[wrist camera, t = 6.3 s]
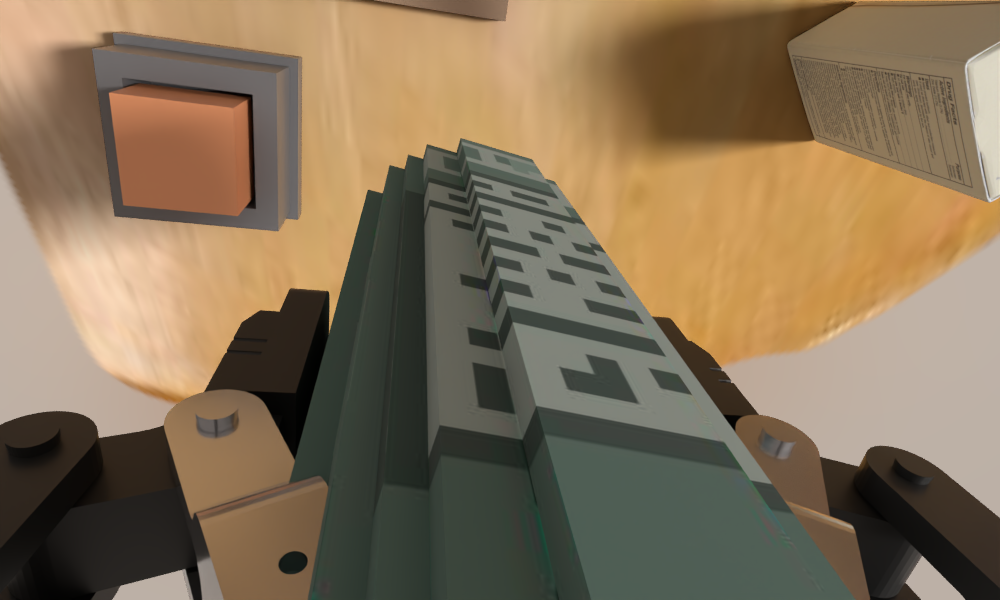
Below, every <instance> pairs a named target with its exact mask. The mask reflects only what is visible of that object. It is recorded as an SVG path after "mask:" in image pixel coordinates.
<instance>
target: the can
mask: <svg viewBox="0 0 1000 600" xmlns="http://www.w3.org/2000/svg"><path fill="white" fill-rule="evenodd" d="M313 475H319V476H321V477H322V478H323V480H324V481H325V482H326V484H327V486H328V487H329V488H328V493H327V498H326V504H325V509H324V514H323V520H322V525H321V530H320V536H319V541H318V547H317V552H316V557H315V563H314V568H313V573H312V579H311V584H310V589H309V595H308V600H856V599H855V598H854V596H853V595H852V594H851V592H850V591H849V589H848V588H847V587H846V585H845V584H844V583H843V581H842V580H841V578H840V577H839V576H838V574H837V573H836V571H835V570H834V569H833V567H832V566H831V565H830V563H829V562H828V560H827V559H826V558H825V556H824V555H823V553H822V552H821V551H820V549H819V548H818V546H817V545H816V544H815V542H814V541H813V540H812V538H811V537H810V535H809V534H808V533H807V531H806V530H805V528H804V527H803V526H802V524H801V523H800V522H799V520H798V519H797V517H796V516H795V515H794V513H793V512H792V510H791V509H790V508H789V506H788V505H787V503H786V502H785V501H784V499H783V498H782V497H781V495H780V494H779V492H778V491H777V490H776V488H775V487H774V485H773V484H772V483H771V481H770V480H769V479H768V477H767V476H766V474H765V473H764V472H763V470H762V469H761V467H760V466H759V465H758V463H757V462H756V460H755V459H754V458H753V456H752V455H751V454H750V452H749V451H748V449H747V448H746V447H745V445H744V444H743V442H742V441H741V440H740V438H739V437H738V436H737V434H736V433H735V431H734V430H733V429H732V427H731V426H730V424H729V423H728V422H727V420H726V419H725V417H724V416H723V415H722V413H721V412H720V411H719V409H718V408H717V406H716V405H715V404H714V402H713V401H712V399H711V398H710V397H709V395H708V394H707V393H706V391H705V390H704V388H703V387H702V386H701V384H700V383H699V381H698V380H697V379H696V377H695V376H694V374H693V373H692V372H691V370H690V369H689V368H688V366H687V365H686V363H685V362H684V361H683V359H682V358H681V356H680V355H679V354H678V352H677V351H676V350H675V348H674V347H673V345H672V344H671V343H670V341H669V340H668V338H667V337H666V336H665V334H664V333H663V331H662V330H661V329H660V327H659V326H658V325H657V323H656V322H655V320H654V319H653V318H652V316H651V315H650V313H649V312H648V311H647V309H646V308H645V307H644V305H643V304H642V302H641V301H640V300H639V298H638V297H637V295H636V294H635V293H634V291H633V290H632V288H631V287H630V286H629V284H628V283H627V282H626V280H625V279H624V277H623V276H622V275H621V273H620V272H619V270H618V269H617V268H616V266H615V265H614V264H613V262H612V261H611V259H610V258H609V257H608V255H607V254H606V252H605V251H604V250H603V248H602V247H601V245H600V244H599V243H598V241H597V240H596V239H595V237H594V236H593V234H592V233H591V232H590V230H589V229H588V227H587V226H586V225H585V223H584V222H583V221H582V219H581V218H580V216H579V215H578V214H577V212H576V211H575V209H574V208H573V207H572V205H571V204H570V202H569V201H568V200H567V198H566V197H565V196H564V194H563V193H562V191H561V190H560V189H559V187H558V186H557V184H556V183H555V182H554V181H551V180H548V179H545V178H544V176H543V175H542V173H541V172H540V171H539V169H538V168H537V166H536V165H535V163H534V162H533V160H532V159H529V158H525V157H522V156H519V155H515V154H512V153H509V152H505V151H502V150H499V149H495V148H492V147H488V146H485V145H482V144H478V143H475V142H472V141H468V140H465V139H462V138H461V139H460V143H459V146H458V150H457V153H455V152H452V151H448V150H445V149H441V148H438V147H434V146H431V145H427V147H426V150H425V154H424V158H423V159H421V158H418V157H414V156H411V155H408V158H407V162H406V166H405V169H402V168H398V167H394V166H391V165H390V166H389V170H388V175H387V179H386V183H385V187H384V191H383V193H379V192H375V191H371V190H368V192H367V195H366V199H365V203H364V207H363V210H362V214H361V218H360V221H359V225H358V229H357V232H356V236H355V240H354V244H353V247H352V251H351V255H350V258H349V262H348V266H347V270H346V273H345V277H344V281H343V284H342V288H341V292H340V295H339V299H338V303H337V307H336V310H335V314H334V318H333V321H332V325H331V329H330V333H329V336H328V340H327V344H326V347H325V351H324V355H323V358H322V362H321V366H320V370H319V373H318V377H317V381H316V384H315V388H314V392H313V396H312V399H311V403H310V407H309V410H308V414H307V418H306V421H305V425H304V429H303V433H302V436H301V440H300V444H299V447H298V451H297V455H296V459H295V462H294V466H293V470H292V473H291V477H290V481H289V483H291V482H294V481H297V480H300V479H304V478H307V477H310V476H313ZM297 573H299V571H288V572H286V573H285V574H297Z"/></svg>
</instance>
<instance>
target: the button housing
mask: <svg viewBox="0 0 1000 600" xmlns="http://www.w3.org/2000/svg"><path fill="white" fill-rule="evenodd" d="M113 39H114V45H112V46H105V47H99V48H92V52H93V60H94V67H95V75H96V82H97V89H98V97H99V104H100V112H101V119H102V127H103V134H104V141H105V149H106V156H107V164H108V171H109V178H110V186H111V193H112V201H113V208H114V215H115V216H117V217H128V218H139V219H150V220H161V221H172V222H183V223H194V224H204V225H215V226H226V227H237V228H248V229H259V230H270V231H279V230H280V228H281V226H282V224H283V223H284V221H285V219H296V220H298V219H299V217H300V215H301V123H302V57H298V56H291V55H284V54H277V53H270V52H263V51H256V50H249V49H241V48H234V47H227V46H220V45H213V44H206V43H199V42H192V41H185V40H178V39H171V38H163V37H156V36H149V35H142V34H135V33H128V32H115V33H113ZM139 83H142V84H150V85H158V86H166V87H174V88H181V89H189V90H197V91H205V92H213V93H221V94H228V95H236V96H244V97H251V109H252V142H253V174H254V197H253V198H252V199H251V201H250V202H249V203H248V204H247V206H246V207H245V208H244V209H243V210H242V212H241V213H240V214H239V215H238V216H231V215H221V214H210V213H199V212H189V211H178V210H168V209H157V208H146V207H136V206H125V205H123V199H122V191H121V184H120V176H119V168H118V160H117V152H116V144H115V136H114V129H113V121H112V113H111V105H110V97H109V93H110V92H113V91H116V90H119V89H123V88H126V87H129V86H132V85H136V84H139Z"/></svg>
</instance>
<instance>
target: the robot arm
mask: <svg viewBox="0 0 1000 600" xmlns="http://www.w3.org/2000/svg"><path fill="white" fill-rule="evenodd" d="M652 318H653V319H654V320H655V322H656V323H657V325H658V326H659V327H660V329H661V330H662V331H663V333H664V334H665V336H666V337H667V338H668V340H669V341H670V343H671V344H672V345H673V347H674V348H675V350H676V351H677V352H678V354H679V355H680V356H681V358H682V359H683V361H684V362H685V363H686V365H687V366H688V368H689V369H690V370H691V372H692V373H693V374H694V376H695V377H696V379H697V380H698V381H699V383H700V384H701V386H702V387H703V388H704V390H705V391H706V393H707V394H708V395H709V397H710V398H711V399H712V401H713V402H714V404H715V405H716V406H717V408H718V409H719V411H720V412H721V413H722V415H723V416H724V417H725V419H726V420H727V422H728V423H729V424H730V426H731V427H732V429H733V430H734V431H735V433H736V434H737V436H738V437H739V438H740V440H741V441H742V442H743V444H744V445H745V447H746V448H747V449H748V451H749V452H750V454H751V455H752V456H753V458H754V459H755V460H756V462H757V463H758V465H759V466H760V467H761V469H762V470H763V472H764V473H765V474H766V476H767V477H768V479H769V480H770V481H771V483H772V484H773V485H774V487H775V488H776V490H777V491H778V492H779V494H780V495H781V497H782V498H783V499H784V501H785V502H786V503H787V505H788V506H789V508H790V509H791V510H792V512H793V513H794V515H795V516H796V517H797V519H798V520H799V522H800V523H801V524H802V526H803V527H804V528H805V530H806V531H807V533H808V534H809V535H810V537H811V538H812V540H813V541H814V542H815V544H816V545H817V546H818V548H819V549H820V551H821V552H822V553H823V555H824V556H825V558H826V559H827V560H828V562H829V563H830V565H831V566H832V567H833V569H834V570H835V571H836V573H837V574H838V576H839V577H840V578H841V580H842V581H843V583H844V584H845V585H846V587H847V588H848V589H849V591H850V592H851V594H852V595H853V596H854V598H855V599H856V600H921V599H920V598H919V597H918V596H917V595H916V594H915V593H914V592H913V591H912V590H911V588H910V587H909V586H908V585H907V584H906V583H905V582H906V580H907V579H908V577H909V576H910V574H911V572H912V571H913V569H914V567H915V566H916V565H917V563H918V561H919V560H920V558H921V556H923V557H924V558H926V560H927V561H928V562H929V563H930V564H931V565H932V566H933V567H934V568H935V569H936V570H937V571H938V572H939V573H941V575H942V576H943V577H944V578H946V580H947V581H948V582H949V583H950V584H951V585H952V586H953V587H954V588H955V589H956V590H957V591H958V592H959V593H960V594H961V595H962V596H963V597H964V598H965V600H1000V518H999V517H998V516H997V515H995V514H994V513H993V512H992V511H991V510H989V509H988V508H987V507H986V506H984V505H983V504H982V503H980V501H978V500H977V499H976V498H975V497H974V496H972V495H971V494H970V493H969V492H967V491H966V490H965V489H964V488H963V487H961V486H960V485H959V484H958V483H956V482H955V481H954V480H953V479H951V478H950V477H949V476H948V475H947V474H945V473H944V472H943V471H942V470H940V469H939V468H938V467H936V466H935V465H933V464H932V463H930V462H929V461H927V460H925V459H923V458H921V457H919V456H917V455H915V454H913V453H910V452H908V451H905V450H902V449H898V448H894V447H889V446H875V447H872V448H870V449H869V450H868V451H867V452H866V454H865V456H864V458H863V460H862V462H861V464H860V466H859V467H858V466H854V465H850V464H846V463H842V462H838V461H834V460H830V459H826V458H822V457H820V455H819V451H818V449H817V447H816V445H815V444H814V442H813V441H812V440H811V439H810V438H809V437H808V436H807V435H805V434H804V433H803V432H802V431H800V430H799V429H797V428H795V427H794V426H792V425H790V424H788V423H786V422H784V421H781V420H778V419H776V418H772V417H769V416H763V415H759V414H758V413H757V412H756V410H755V409H754V408H753V407H752V406H751V404H750V403H749V402H748V401H747V399H746V398H745V397H744V396H743V395H742V393H741V392H740V391H739V389H738V388H737V387H736V386H735V384H734V383H731V380H730V378H729V377H728V376H727V375H726V373H725V372H724V371H721V369H722V368H721V367H720V366H719V365H718V363H717V362H716V361H715V360H714V358H713V357H712V356H711V355H710V354H709V353H708V352H706V351H705V350H703V349H702V348H700V347H699V346H698V345H696V344H695V343H693V342H692V341H688V340H687V339H686V338H685V336H684V335H683V334H682V332H681V331H680V330H679V328H678V327H677V326H676V325H675V323H674V322H673V321H672V320H671V319H670V318H665V317H652ZM328 336H329V292H328V291H319V290H306V289H293V288H291V289H290V290H289V292H288V294H287V296H286V299H285V301H284V303H283V306H282V308H281V310H280V312H276V311H262V310H260V311H259V312H257V313H256V314H254V315H253V316H251V317H249V318H248V319H246V320H245V321H243V322H242V323H241V325H240V327H239V329H238V331H237V333H236V334H235V336H234V340H233V341H232V342H231V344H230V345H229V347H228V349H227V353H225V355H224V356H223V358H222V360H221V362H220V364H219V366H218V368H217V369H216V371H215V373H214V375H213V377H212V379H211V380H210V382H209V384H208V386H207V388H206V390H205V391H204V392H203V393H199V394H196V395H193V396H191V397H189V398H187V399H184V400H183V401H181V402H180V403H178V404H177V405H175V406H174V407H173V408H172V409H171V410H170V411H169V412H168V414H167V416H166V418H165V421H164V425H163V426H161V427H157V428H154V429H150V430H145V431H140V432H134V433H129V434H122V435H116V436H109V437H103V438H99V436H98V431H97V426H96V425H95V423H94V422H93V421H92V420H91V419H90V418H88V417H86V416H84V415H81V414H78V413H73V412H63V411H53V412H42V413H36V414H32V415H27V416H23V417H20V418H16V419H14V420H11V421H8V422H5V423H3V424H1V425H0V600H112V599H113V597H114V596H115V594H116V593H117V591H118V589H119V587H120V586H121V585H124V584H128V583H132V582H136V581H140V580H144V579H148V578H152V577H156V576H160V575H164V574H167V573H171V572H175V571H178V570H182V571H183V575H184V579H185V582H186V586H187V590H188V594H189V597H190V600H308V595H309V589H310V584H311V579H312V573H313V568H314V563H315V557H316V552H317V547H318V541H319V536H320V530H321V525H322V520H323V514H324V509H325V504H326V498H327V493H328V488H329V487H328V486H327V484H326V482H325V481H324V480H323V478H322V477H321V476H319V475H313V476H310V477H307V478H304V479H300V480H297V481H294V482H291V483H289V481H290V477H291V473H292V470H293V466H294V462H295V459H296V455H297V451H298V447H299V444H300V440H301V436H302V433H303V429H304V425H305V421H306V418H307V414H308V410H309V407H310V403H311V399H312V396H313V392H314V388H315V384H316V381H317V377H318V373H319V370H320V366H321V362H322V358H323V355H324V351H325V347H326V344H327V340H328ZM288 571H299V573H297V574H285V573H286V572H288Z"/></svg>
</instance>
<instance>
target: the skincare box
mask: <svg viewBox="0 0 1000 600" xmlns="http://www.w3.org/2000/svg"><path fill="white" fill-rule="evenodd" d="M787 49H788V52H789V56H790V59H791V63H792V67H793V71H794V74H795V78H796V81H797V84H798V88H799V91H800V94H801V98H802V101H803V105H804V108H805V111H806V114H807V118H808V121H809V124H810V127H811V130H812V133H813V136H814V139H815V141H817V142H819V143H822V144H825V145H827V146H830V147H833V148H836V149H839V150H842V151H844V152H847V153H850V154H853V155H856V156H859V157H861V158H864V159H867V160H870V161H873V162H875V163H878V164H881V165H884V166H887V167H890V168H893V169H896V170H898V171H901V172H904V173H907V174H910V175H912V176H915V177H918V178H921V179H923V180H927V181H930V182H932V183H935V184H938V185H941V186H944V187H947V188H949V189H952V190H955V191H958V192H960V193H963V194H966V195H969V196H971V197H974V198H977V199H980V200H983V201H986V202H989V203H990V202H992V201H994V200H996V199H997V198H999V197H1000V1H860V2H857V3H855V4H854V5H852V6H850V7H848V8H846V9H845V10H843V11H841V12H839V13H837V14H836V15H834V16H832V17H830V18H829V19H827V20H825V21H823V22H822V23H820V24H818V25H816V26H815V27H813V28H811V29H810V30H808V31H806V32H804V33H803V34H801V35H799V36H798V37H796V38H794V39H793V40H791V41H790V42H789V43H788V45H787Z"/></svg>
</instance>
